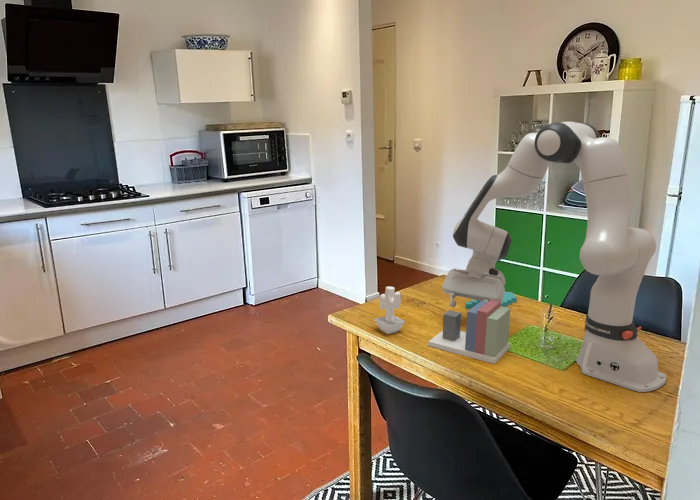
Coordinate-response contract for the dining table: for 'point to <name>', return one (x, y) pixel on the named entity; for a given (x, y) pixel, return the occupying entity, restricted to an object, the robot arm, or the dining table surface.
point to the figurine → (389, 311)
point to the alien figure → (507, 300)
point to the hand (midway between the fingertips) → (465, 309)
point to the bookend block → (451, 325)
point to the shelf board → (480, 333)
